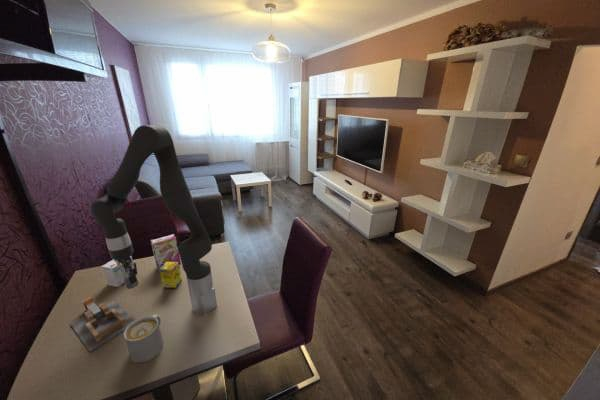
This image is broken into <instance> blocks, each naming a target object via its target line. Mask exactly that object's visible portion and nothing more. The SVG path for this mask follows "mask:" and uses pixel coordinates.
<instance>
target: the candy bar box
mask: <svg viewBox="0 0 600 400" xmlns="http://www.w3.org/2000/svg"><path fill="white" fill-rule="evenodd" d="M150 244H151V248H152V252H153V258H154V262H155V267H156V268H157V271H158V272H160V268H161V267H162V266H163V265H164V264H165V263H166V262H178V264H179V265H180V264H181V265H182V263H181V259H180V255H179V244H178V240H177V236H176V235H175V234H174V233H173V234H169V235H165V236H162V237H158V238H155V239H150Z"/></svg>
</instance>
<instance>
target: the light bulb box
mask: <svg viewBox="0 0 600 400" xmlns="http://www.w3.org/2000/svg"><path fill="white" fill-rule="evenodd" d="M130 258H132V260H133V261H134V259H133V257H132V255H131V256H130ZM134 263H135V262H133V264H134ZM101 269H102V272H103V275H104V277H105V280H106V284H107V285H108V286H113V287H117V288H119V287H120V286H121V285H123V284H125V283H124V280H123V276H122V273H121V270H120V269H119V268H118V265H117V263H116V261H115V260H113V259H112V260H110V261H108V262H106V263H105V264H103V265H101Z"/></svg>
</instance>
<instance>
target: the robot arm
mask: <svg viewBox="0 0 600 400" xmlns="http://www.w3.org/2000/svg"><path fill="white" fill-rule="evenodd" d="M152 154H153V155H154V157H155V159H156V162H157V165H158V168H159V191H160V195H161V197H162V200H163V202H164V204H165V207H166V208H167V210H168V211H169V212H170V213H171V214H172V215H174V217H176V218H178V219H179V220H180V221H182V222H183V223H184V224H185V225H186V227H187V229H188V231H189V233H190V237H188V238H187V239H184V240H183V241H181V242H180V243H179V244H178V251H179V256H180V262H181V265H182V270H183V271H184V272H185V275H186V276H185V277H186V281H187V287H188V291H189V297H190V301H191V308H192V311H193V313H194V314H196V315H202V316H207V315H208V314H209V313H210V312H211V311H213V310H215V308H217V307H218V304H217V303H218V301H217V296H216V289H215V288H214V284H213V276H212V270H211V265H210V263H209V262H208V261H206V260H201V259H202V258H204V257H205V256H206V255H208V254H209V253H210V252H211V251H212V248H213V244H212V241H211V238H210V236H209V234H208V232H207V230H206V228H205V226H204V224H203V222H202V220H201V218H200V215H199V213H198V209H197V208H196V205H195V203H194V200H193V197H192V195H191V194H192V193H191V191H190V189H189V186H188V184H187V181H186V179H185V176H184V173H183V171H182V168H181V165H180V163H179V159H178V157H177V152H176V148H175V145H174V141H173V138H172V136H171V132H169V131H168V129H166V127H164V126H161V125H154V124H153V125H152V124H141V125H140V126H138V127H137V128H136V129H135V130H134V132H133V133H132V136H131V138H130V141H129V143H128V147H127V149H126V151H125V153H124V156H123V158H122V161H121V163H120V165H119V167H118V168H117V170H116V171H115V173H114V174H113V175H112V177H111V179H110V181H109V182H108V184H107V186H106V194H105V195H104V196H101V197H100V198H98V199H96V200H94V201H93V202H92V203H91V205H90V212H91V215H92V216H93V218H94V219H95V221H96V222H97V224H98V225H99V226H100V227H101V228H102V231H103V235H104V238H105V244H106V246H107V249H108V253H109V255H110V258H111V259H112V260H115V261H116V263H117V265H118V268H119V269H120V266H122V267H123V270H124V272H126V273H127V275H128V278H129V281H130V283H131V284H134V283H135V282H137V280H138V279H137V280H136V277H137V275H138V269H137V264H136V263H135V262H134V259H133V257H132V258H130V256H132V255H133V254H134V248H133V247H134V246H133V244H132V240H131V237H130V235H129V233H128V229H127V227H126V226H127V225H126V222H125V221H124V219H123V218H119V217H118V218H116V215H115V214H116V213H118V212H119V211H121V210H122V208H123V207H124V206H125V204H126V202H127V200H128V197H129V195H130V193H131V192H132V190H133V189H134V188H135V186H136V185H137V183H138V181H139V178H140V173H141V169H142V167H143V165H144V163H145V162H146V160H147V159H148V158H149V157H150V156H152ZM132 259H133V260H132ZM133 263H134V264H133ZM126 268H128V269H127V270H126ZM135 275H136V276H135Z"/></svg>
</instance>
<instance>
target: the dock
mask: <svg viewBox="0 0 600 400" xmlns="http://www.w3.org/2000/svg"><path fill="white" fill-rule="evenodd" d="M98 308H99V309H100V310H101V311H102V314H103V316H102V317H100V318H98V319H97V320H96V319H95V318H94V316H93V314H92V313H91V312H90V311H88V310H86V311H85V312H84V313H83V314H84V316H82V317H80V318H79V319H77V320H75V321H72V322H71V323H70V327H72V329H73V330H74V331H75V333H76V334H77V336H78V337H79V339H80V340H81V342H82V343H83V344H84V346H85V347H86V349H87V350H88V351H89V352H93V351H94V350H96V349H97V348H99V347H100V346H102V345H104V344H105V343H107V342H108V341H110V340H111V339H113V338H114V337H116V336H118V335H119V334H121V333H124V332H125V330H126V328H127V327H128V326H129V325H130V324H131V323H132V322H134V321H135V320H136V319H134V318H133V317H132V316H131V315H130V314H129V313H128V312H127V311H126V310H125V309H124V308H123V307H122V306H120V305H119V303H118V302H117V301H116V300H112V301H110V302H108V303H107V304H106V303H105V302H103V303H101V304H99V305H98Z"/></svg>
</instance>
